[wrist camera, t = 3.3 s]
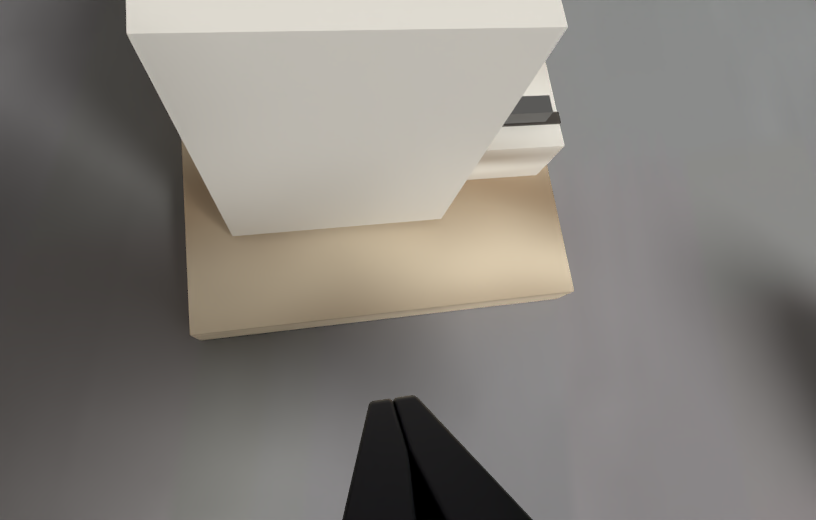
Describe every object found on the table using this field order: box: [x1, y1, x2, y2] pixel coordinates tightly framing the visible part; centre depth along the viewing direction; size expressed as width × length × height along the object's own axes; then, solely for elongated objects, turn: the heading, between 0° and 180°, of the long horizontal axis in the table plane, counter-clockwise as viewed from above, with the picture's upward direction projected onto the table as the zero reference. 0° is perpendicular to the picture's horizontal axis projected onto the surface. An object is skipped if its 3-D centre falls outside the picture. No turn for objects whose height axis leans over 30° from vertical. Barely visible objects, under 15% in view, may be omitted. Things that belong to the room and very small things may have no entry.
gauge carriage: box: [126, 0, 568, 236], centre depth 14 cm, size 8×10×10 cm
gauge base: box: [181, 62, 574, 340], centre depth 20 cm, size 22×13×4 cm, turn 8°
